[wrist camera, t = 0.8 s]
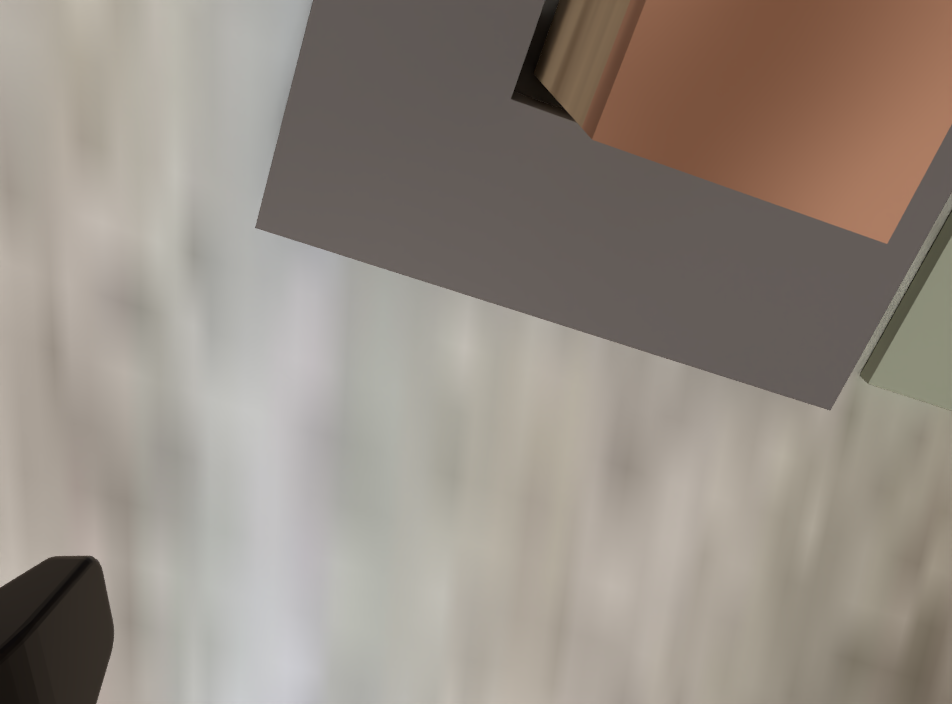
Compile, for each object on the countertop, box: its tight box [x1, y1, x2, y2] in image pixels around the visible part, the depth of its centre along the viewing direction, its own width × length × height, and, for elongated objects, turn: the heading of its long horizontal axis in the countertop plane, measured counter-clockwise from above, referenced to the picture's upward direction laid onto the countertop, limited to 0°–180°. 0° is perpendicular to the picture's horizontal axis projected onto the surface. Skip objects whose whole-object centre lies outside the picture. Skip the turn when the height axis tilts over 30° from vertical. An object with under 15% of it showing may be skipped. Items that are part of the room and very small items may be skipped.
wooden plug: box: [534, 0, 952, 244], centre depth 15 cm, size 4×4×9 cm
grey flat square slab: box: [255, 0, 952, 410], centre depth 18 cm, size 14×14×2 cm
